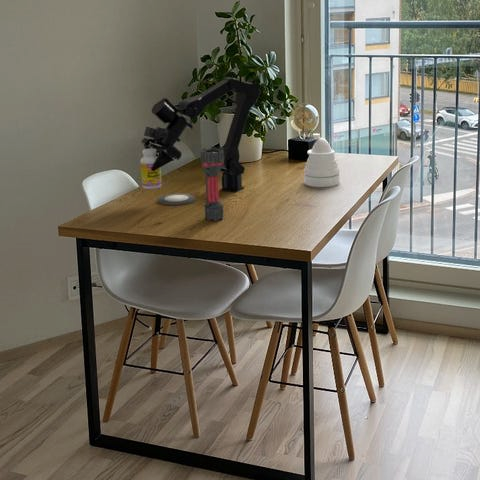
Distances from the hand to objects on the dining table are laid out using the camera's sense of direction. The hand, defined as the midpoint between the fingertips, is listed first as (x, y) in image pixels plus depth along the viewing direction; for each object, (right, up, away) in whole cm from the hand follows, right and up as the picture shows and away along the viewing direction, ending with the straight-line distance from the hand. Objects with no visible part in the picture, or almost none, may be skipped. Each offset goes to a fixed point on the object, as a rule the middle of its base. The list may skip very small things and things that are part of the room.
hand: (147, 168), depth 299 cm
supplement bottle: (+1, -6, +3) cm, 7 cm away
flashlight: (+23, -18, -14) cm, 33 cm away
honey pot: (+62, -3, +27) cm, 67 cm away
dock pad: (+9, -10, +10) cm, 17 cm away
